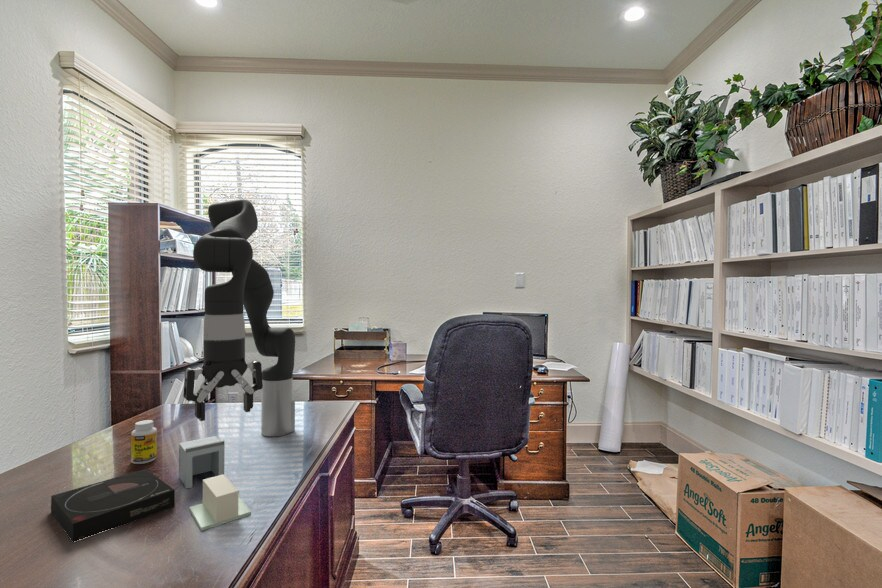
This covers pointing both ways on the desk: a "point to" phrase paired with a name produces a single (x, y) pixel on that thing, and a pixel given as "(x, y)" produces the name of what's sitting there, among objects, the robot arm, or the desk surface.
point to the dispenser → (200, 458)
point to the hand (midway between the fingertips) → (224, 415)
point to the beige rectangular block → (220, 498)
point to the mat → (207, 520)
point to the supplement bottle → (143, 442)
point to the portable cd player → (111, 503)
